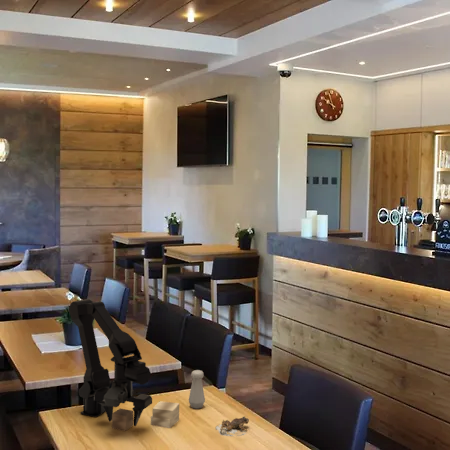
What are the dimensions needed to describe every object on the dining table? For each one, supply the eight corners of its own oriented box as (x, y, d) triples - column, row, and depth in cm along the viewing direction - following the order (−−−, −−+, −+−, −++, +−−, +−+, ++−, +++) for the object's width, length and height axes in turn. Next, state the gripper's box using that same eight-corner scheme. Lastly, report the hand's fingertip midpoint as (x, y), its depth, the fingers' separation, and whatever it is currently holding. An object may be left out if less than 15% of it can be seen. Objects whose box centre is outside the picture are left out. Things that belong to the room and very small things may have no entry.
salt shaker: (202, 410, 215) (203, 374, 214) (186, 408, 216) (187, 373, 215) (206, 404, 220) (207, 369, 219) (191, 403, 221) (191, 368, 220)
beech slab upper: (152, 417, 201) (152, 408, 201) (159, 409, 208) (159, 401, 207) (172, 419, 199) (172, 410, 199) (179, 411, 206) (179, 403, 206)
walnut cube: (111, 428, 198) (112, 413, 197) (119, 422, 202) (120, 408, 202) (125, 431, 196) (125, 416, 195) (133, 425, 201) (133, 410, 200)
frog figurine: (243, 421, 208) (244, 410, 207) (255, 435, 196) (255, 424, 196) (211, 424, 204) (211, 412, 204) (221, 439, 193) (221, 427, 193)
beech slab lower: (150, 425, 202) (150, 416, 201) (160, 418, 208) (160, 409, 208) (169, 429, 199) (169, 420, 199) (178, 421, 206) (179, 412, 205)
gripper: (84, 380, 194) (84, 427, 195) (136, 388, 187) (135, 438, 188) (103, 370, 204) (103, 415, 205) (153, 378, 197) (152, 424, 199)
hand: (122, 423), depth 199 cm, fingers open, 9 cm apart
